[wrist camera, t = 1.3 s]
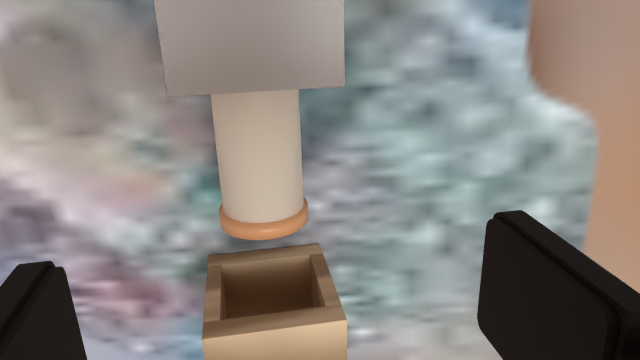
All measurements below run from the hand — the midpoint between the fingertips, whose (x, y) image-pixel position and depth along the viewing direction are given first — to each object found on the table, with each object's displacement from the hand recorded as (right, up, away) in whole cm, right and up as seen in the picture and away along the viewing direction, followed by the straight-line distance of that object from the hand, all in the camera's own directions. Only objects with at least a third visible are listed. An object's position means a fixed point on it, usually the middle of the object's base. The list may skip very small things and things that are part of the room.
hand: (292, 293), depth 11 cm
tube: (-3, +8, +14) cm, 17 cm away
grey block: (-3, +13, +14) cm, 19 cm away
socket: (-3, -4, +21) cm, 22 cm away
